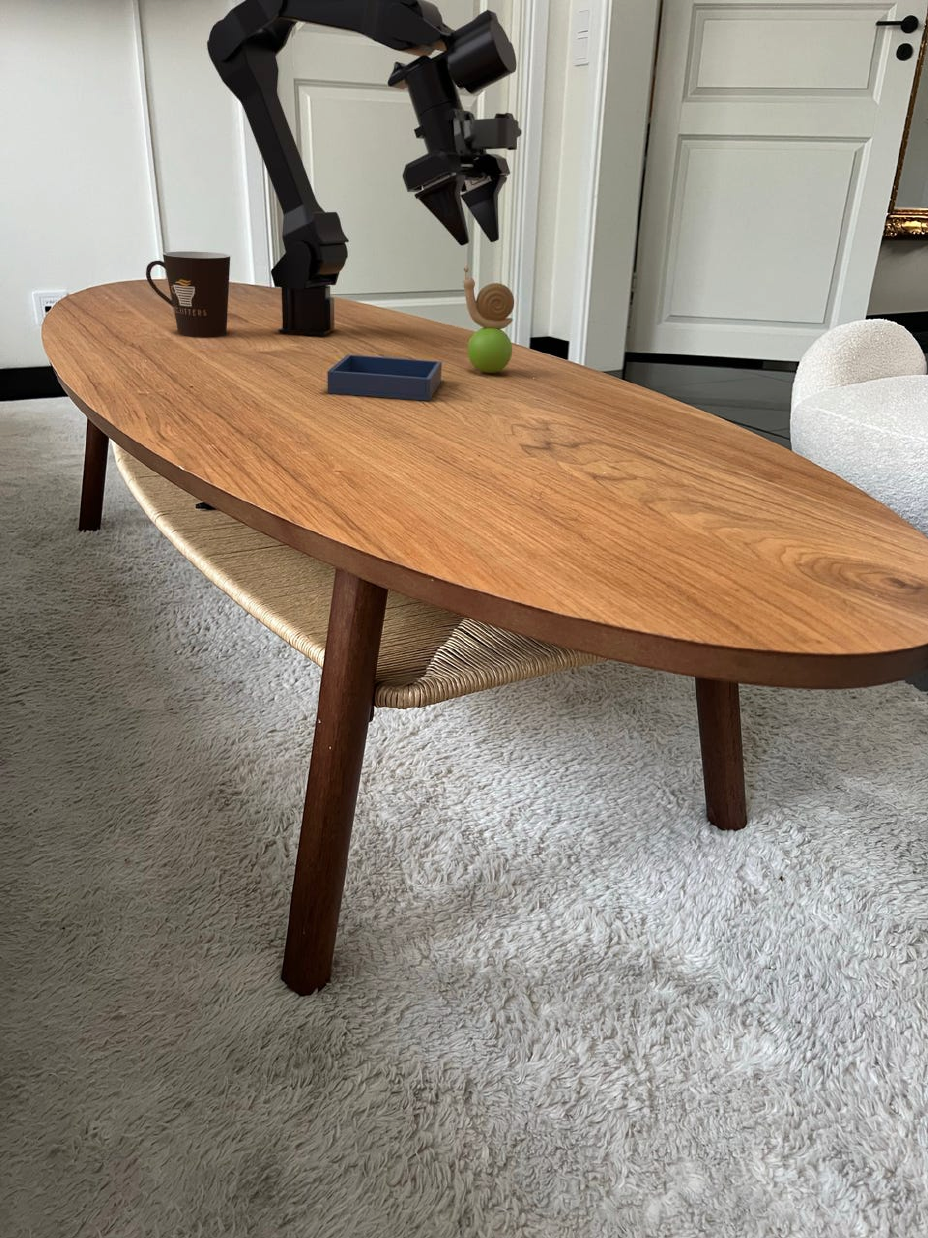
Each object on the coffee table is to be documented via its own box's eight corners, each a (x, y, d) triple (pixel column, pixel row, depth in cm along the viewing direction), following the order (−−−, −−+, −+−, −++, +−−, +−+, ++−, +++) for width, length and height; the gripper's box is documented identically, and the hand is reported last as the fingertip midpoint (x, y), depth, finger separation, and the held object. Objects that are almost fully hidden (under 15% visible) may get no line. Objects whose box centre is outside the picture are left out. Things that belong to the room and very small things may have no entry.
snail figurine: (456, 367, 113) (461, 264, 107) (507, 369, 113) (515, 267, 108) (459, 376, 108) (465, 269, 102) (513, 378, 108) (521, 272, 103)
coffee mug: (247, 335, 124) (243, 257, 120) (192, 340, 118) (185, 258, 114) (200, 322, 131) (194, 248, 126) (145, 327, 125) (138, 249, 121)
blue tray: (327, 393, 96) (327, 371, 95) (347, 374, 105) (347, 354, 104) (429, 401, 96) (430, 379, 95) (440, 381, 104) (441, 361, 103)
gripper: (462, 71, 98) (507, 219, 102) (526, 88, 113) (563, 216, 117) (380, 117, 103) (426, 255, 107) (451, 127, 119) (489, 248, 123)
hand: (480, 242), depth 113 cm, fingers open, 9 cm apart
